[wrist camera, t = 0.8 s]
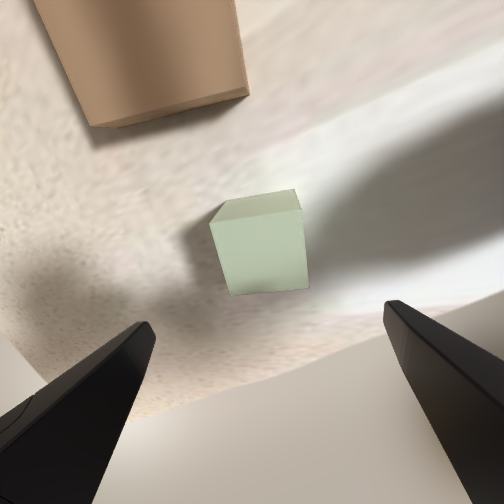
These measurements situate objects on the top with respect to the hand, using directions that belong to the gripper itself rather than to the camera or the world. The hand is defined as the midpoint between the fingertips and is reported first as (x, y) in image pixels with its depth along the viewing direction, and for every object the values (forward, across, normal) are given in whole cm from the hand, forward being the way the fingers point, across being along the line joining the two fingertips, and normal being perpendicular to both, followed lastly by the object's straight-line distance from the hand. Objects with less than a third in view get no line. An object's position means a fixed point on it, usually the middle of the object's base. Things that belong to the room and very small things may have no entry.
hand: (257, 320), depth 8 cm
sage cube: (+10, 0, 0) cm, 10 cm away
